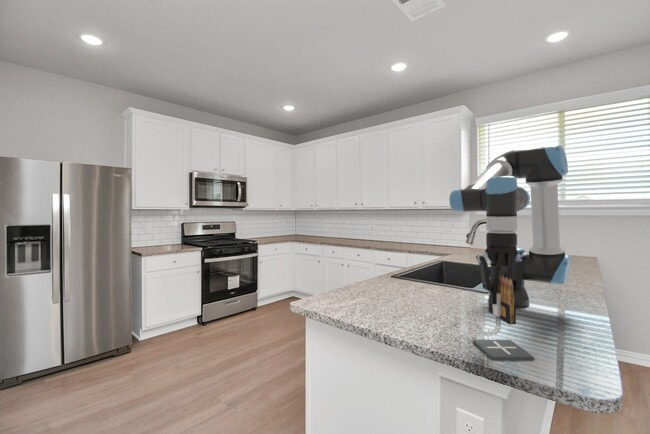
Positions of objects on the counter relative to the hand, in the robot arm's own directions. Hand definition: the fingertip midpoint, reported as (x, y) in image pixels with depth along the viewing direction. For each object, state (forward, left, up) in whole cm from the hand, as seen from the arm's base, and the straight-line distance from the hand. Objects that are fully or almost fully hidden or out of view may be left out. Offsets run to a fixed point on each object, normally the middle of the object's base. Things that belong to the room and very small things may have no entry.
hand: (501, 315), depth 86 cm
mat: (0, 0, -10) cm, 10 cm away
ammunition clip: (0, 0, -1) cm, 1 cm away
